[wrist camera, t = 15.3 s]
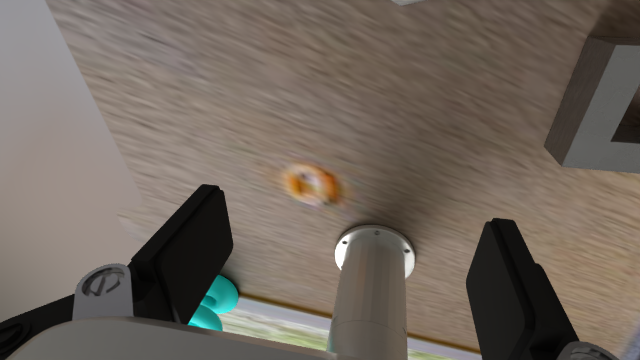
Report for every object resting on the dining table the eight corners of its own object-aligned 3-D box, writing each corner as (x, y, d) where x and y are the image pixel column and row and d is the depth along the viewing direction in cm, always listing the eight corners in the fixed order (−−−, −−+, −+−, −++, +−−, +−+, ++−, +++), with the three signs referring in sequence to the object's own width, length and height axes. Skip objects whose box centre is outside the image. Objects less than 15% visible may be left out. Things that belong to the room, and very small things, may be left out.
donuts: (205, 315, 53) (225, 351, 58) (231, 269, 62) (246, 304, 67) (155, 312, 56) (178, 347, 61) (186, 269, 64) (204, 302, 69)
